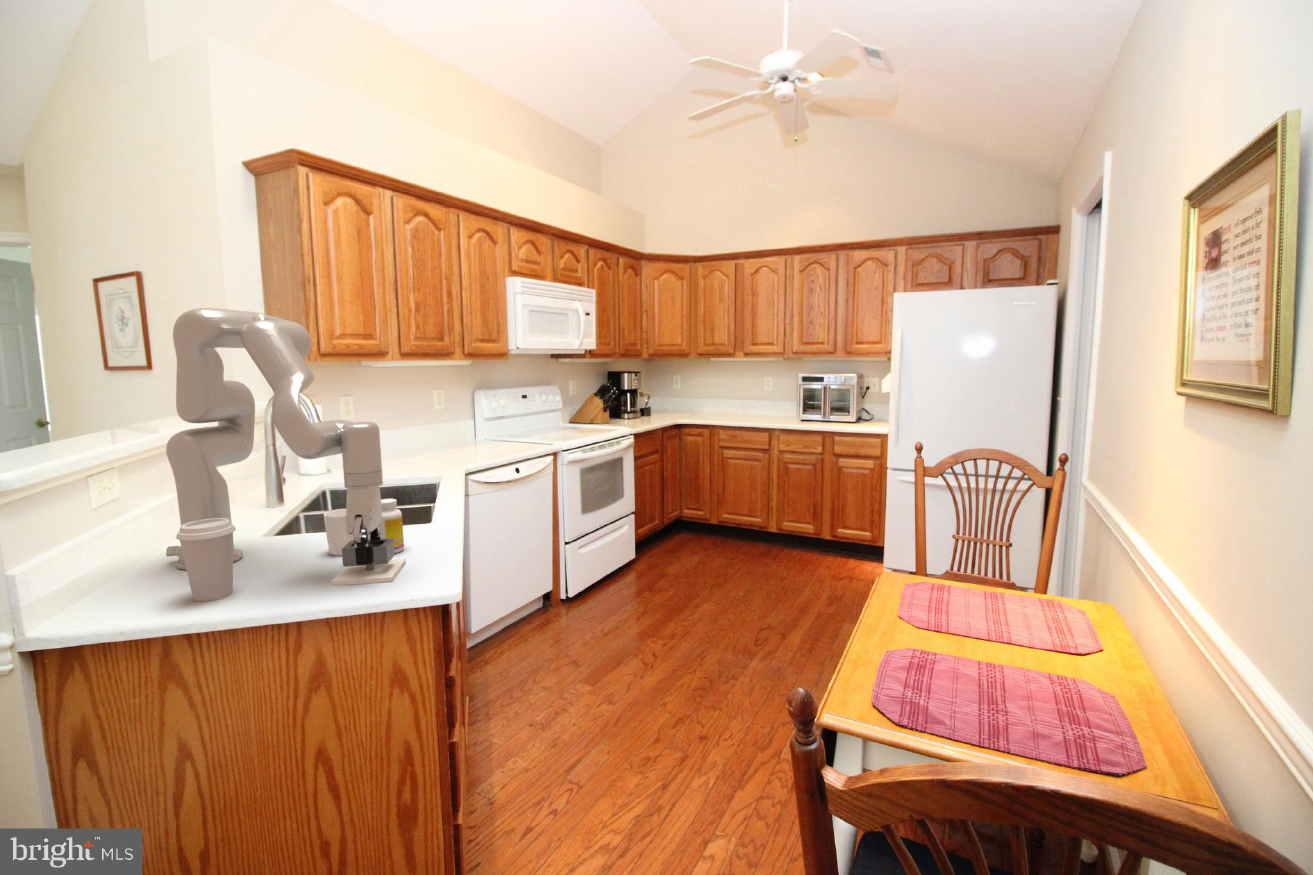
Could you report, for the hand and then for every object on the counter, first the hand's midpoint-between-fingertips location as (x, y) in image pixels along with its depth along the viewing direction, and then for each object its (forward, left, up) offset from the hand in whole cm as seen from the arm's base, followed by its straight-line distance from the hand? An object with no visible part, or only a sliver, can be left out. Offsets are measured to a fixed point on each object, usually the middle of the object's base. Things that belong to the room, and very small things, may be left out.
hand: (369, 558), depth 133 cm
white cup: (-11, +18, -4) cm, 21 cm away
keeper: (0, 0, -4) cm, 4 cm away
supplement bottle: (0, +16, -4) cm, 16 cm away
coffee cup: (-28, -7, -4) cm, 29 cm away
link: (0, 0, -1) cm, 1 cm away
